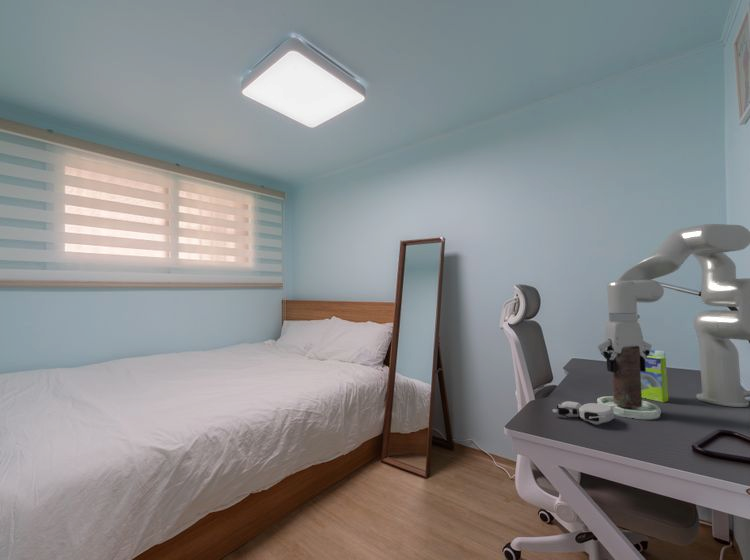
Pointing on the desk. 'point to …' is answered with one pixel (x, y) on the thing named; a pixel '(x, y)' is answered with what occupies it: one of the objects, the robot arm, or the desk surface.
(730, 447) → the desk surface
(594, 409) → the robot toy
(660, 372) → the box
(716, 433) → the desk surface
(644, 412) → the dish
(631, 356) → the rusty brown cylinder
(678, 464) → the desk surface
